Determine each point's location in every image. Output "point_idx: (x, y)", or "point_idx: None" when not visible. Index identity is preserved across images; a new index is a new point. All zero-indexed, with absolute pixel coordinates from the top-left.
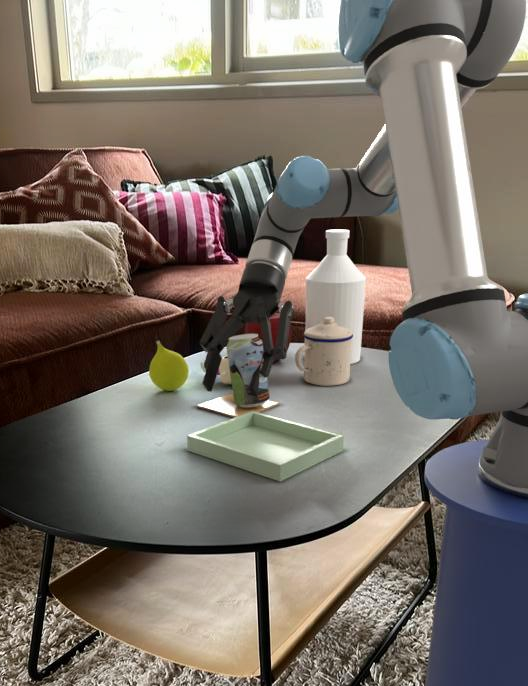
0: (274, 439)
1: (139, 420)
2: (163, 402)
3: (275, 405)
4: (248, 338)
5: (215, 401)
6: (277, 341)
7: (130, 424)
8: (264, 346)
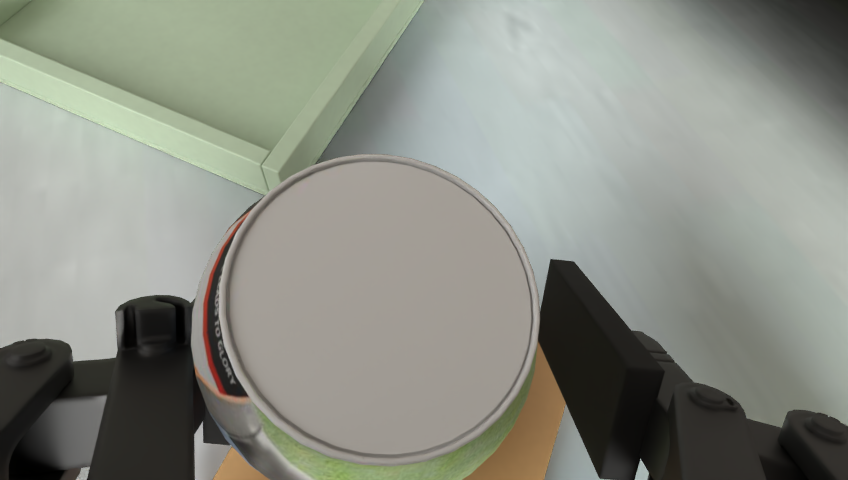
0: (182, 78)
1: (689, 169)
2: (749, 377)
3: (222, 466)
4: (301, 176)
5: (529, 420)
6: (10, 406)
7: (689, 133)
8: (184, 376)
